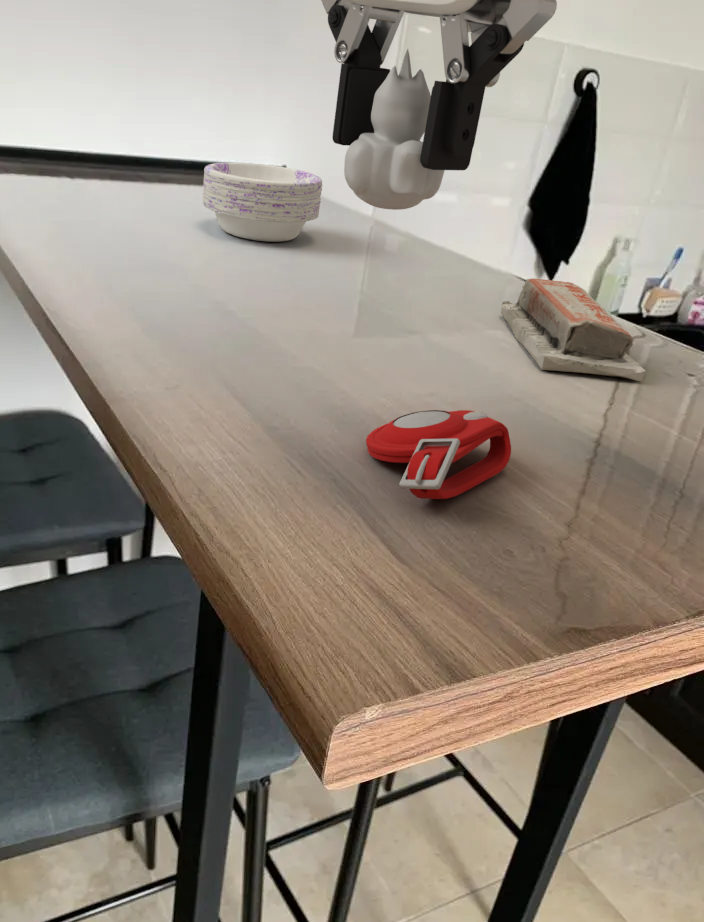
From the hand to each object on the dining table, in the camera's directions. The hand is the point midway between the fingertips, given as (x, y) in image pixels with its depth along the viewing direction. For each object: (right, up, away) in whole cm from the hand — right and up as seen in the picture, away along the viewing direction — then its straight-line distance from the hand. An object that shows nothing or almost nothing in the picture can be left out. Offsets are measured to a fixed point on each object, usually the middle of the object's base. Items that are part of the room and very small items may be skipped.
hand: (398, 153), depth 47 cm
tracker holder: (+3, -17, +11) cm, 20 cm away
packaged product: (+20, -3, +41) cm, 46 cm away
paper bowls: (-12, +17, +67) cm, 71 cm away
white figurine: (0, -3, +2) cm, 3 cm away
